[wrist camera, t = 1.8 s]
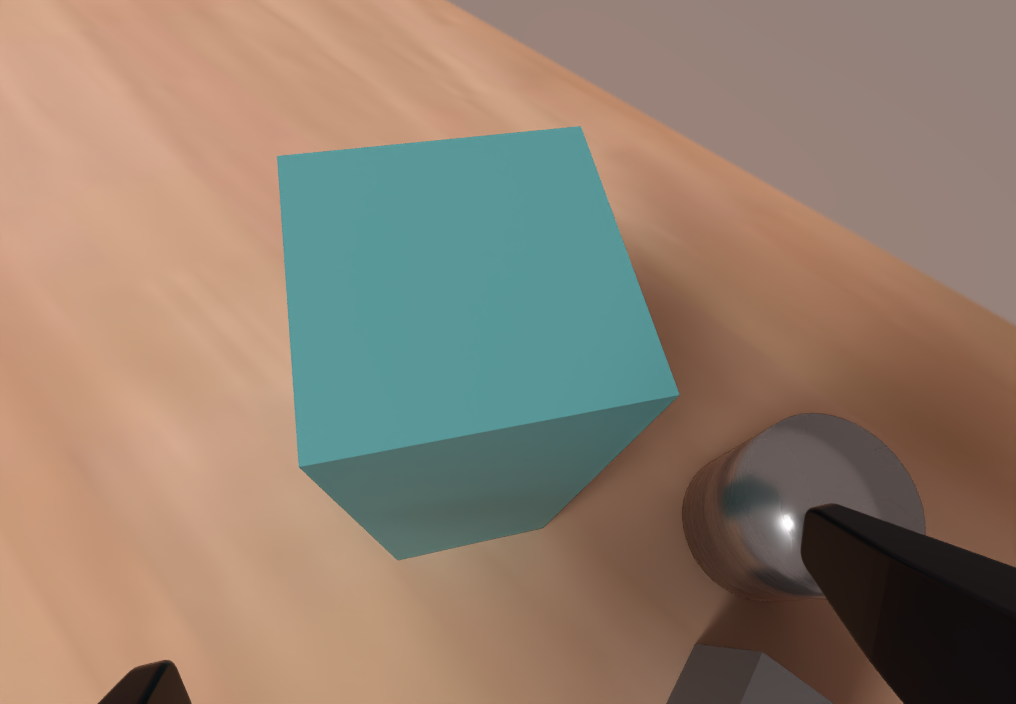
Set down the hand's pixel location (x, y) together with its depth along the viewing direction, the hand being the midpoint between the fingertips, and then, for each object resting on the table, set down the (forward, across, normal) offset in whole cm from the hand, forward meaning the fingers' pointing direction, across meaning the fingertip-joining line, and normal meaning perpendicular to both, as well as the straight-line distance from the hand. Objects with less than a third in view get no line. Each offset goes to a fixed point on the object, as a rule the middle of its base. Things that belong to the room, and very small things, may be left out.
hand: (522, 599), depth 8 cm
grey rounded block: (+8, -10, +8) cm, 15 cm away
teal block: (+11, 0, +5) cm, 12 cm away
